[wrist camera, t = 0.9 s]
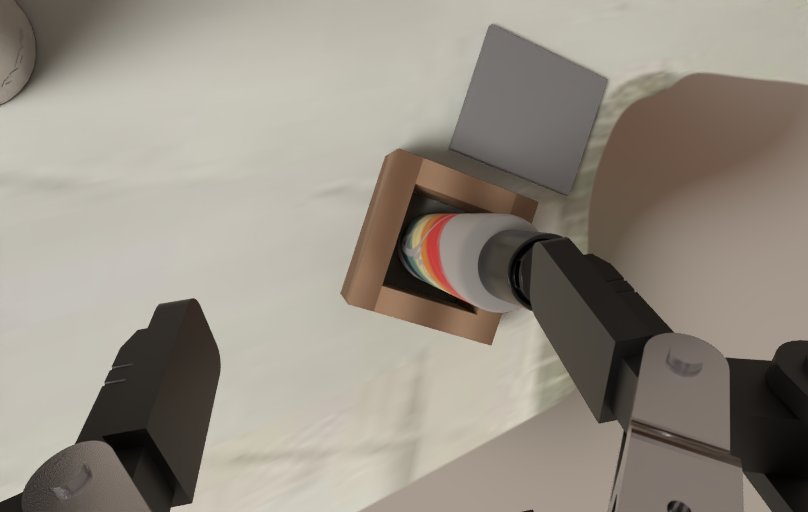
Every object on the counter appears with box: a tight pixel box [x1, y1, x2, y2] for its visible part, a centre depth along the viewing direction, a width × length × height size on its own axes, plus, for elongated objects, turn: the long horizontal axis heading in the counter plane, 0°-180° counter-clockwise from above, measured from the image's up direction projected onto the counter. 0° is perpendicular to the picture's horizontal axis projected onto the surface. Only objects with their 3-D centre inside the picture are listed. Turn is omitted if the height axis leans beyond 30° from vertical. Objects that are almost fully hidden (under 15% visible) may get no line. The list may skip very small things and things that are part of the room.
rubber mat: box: [449, 24, 607, 195], centre depth 43 cm, size 12×11×1 cm
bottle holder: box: [341, 149, 538, 345], centre depth 39 cm, size 12×12×5 cm
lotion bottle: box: [398, 213, 563, 313], centre depth 32 cm, size 6×6×20 cm
